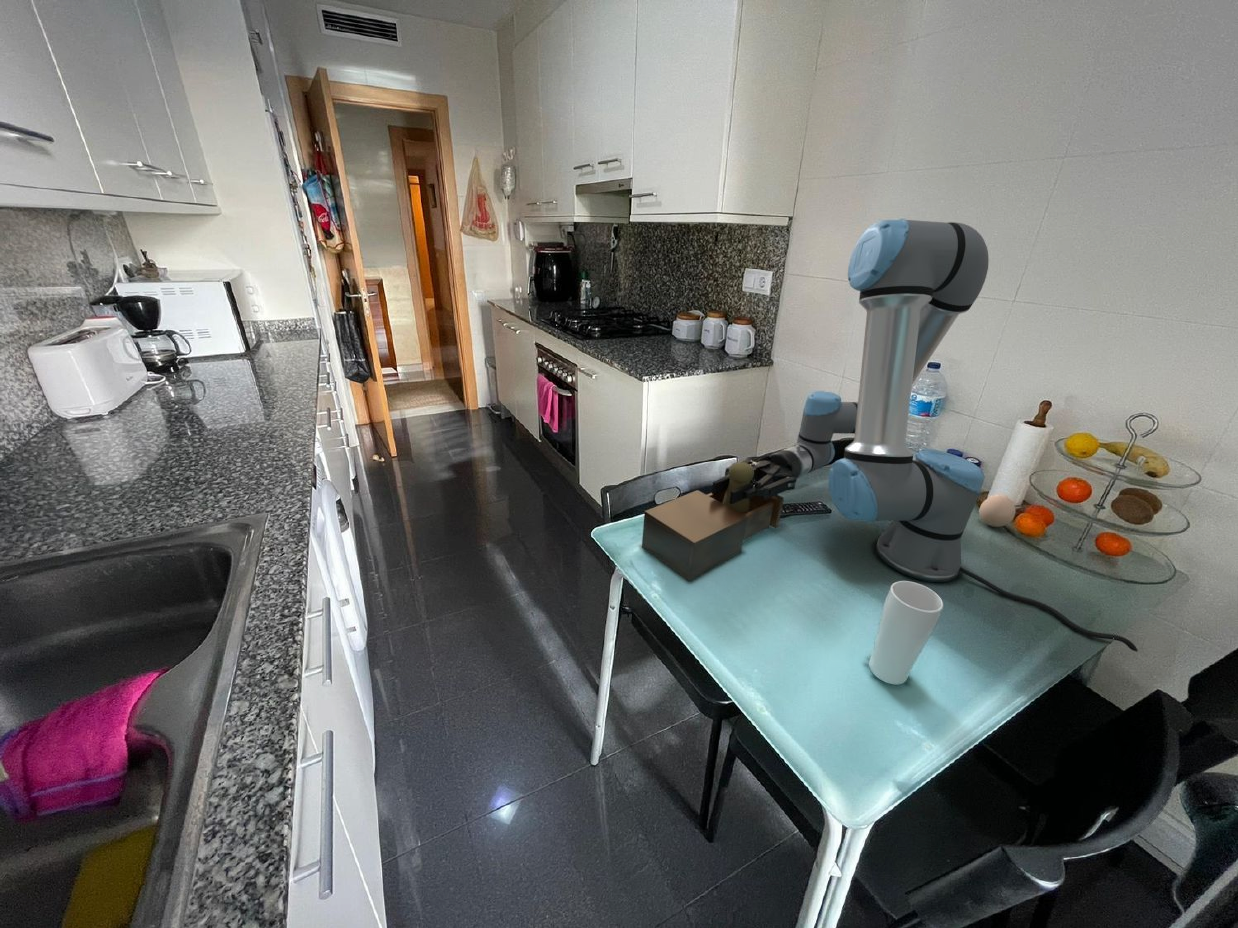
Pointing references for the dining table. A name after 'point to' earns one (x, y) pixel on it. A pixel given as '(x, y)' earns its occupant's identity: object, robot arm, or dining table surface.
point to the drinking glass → (904, 630)
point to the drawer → (759, 513)
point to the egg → (997, 510)
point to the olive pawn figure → (738, 485)
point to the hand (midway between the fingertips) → (722, 493)
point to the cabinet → (693, 533)
